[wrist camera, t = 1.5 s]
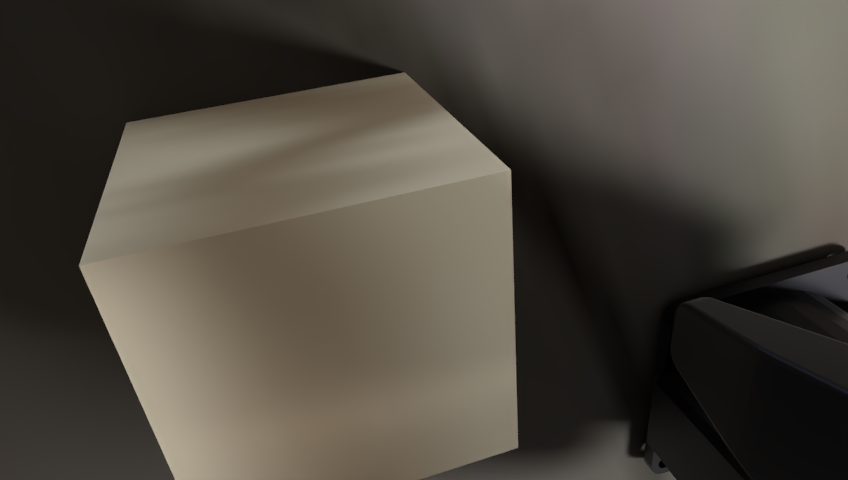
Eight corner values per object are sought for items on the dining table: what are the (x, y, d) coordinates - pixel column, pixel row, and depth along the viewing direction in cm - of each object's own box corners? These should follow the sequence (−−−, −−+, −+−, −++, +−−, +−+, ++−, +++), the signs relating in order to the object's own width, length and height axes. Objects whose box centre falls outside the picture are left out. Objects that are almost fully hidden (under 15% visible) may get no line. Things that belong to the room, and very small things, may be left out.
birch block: (403, 71, 12) (510, 170, 8) (427, 286, 14) (518, 448, 10) (127, 121, 11) (79, 266, 7) (205, 343, 13) (206, 547, 9)
